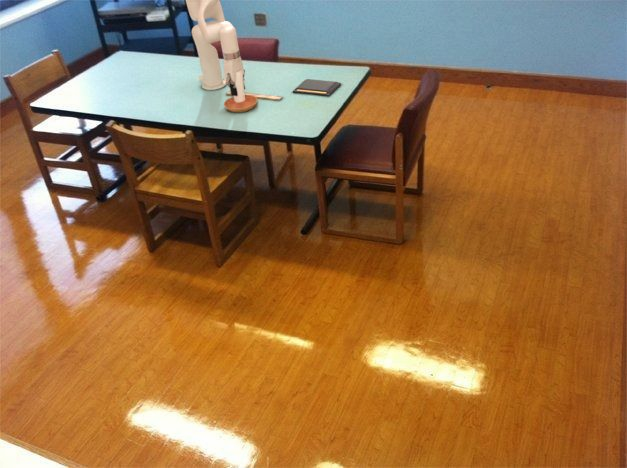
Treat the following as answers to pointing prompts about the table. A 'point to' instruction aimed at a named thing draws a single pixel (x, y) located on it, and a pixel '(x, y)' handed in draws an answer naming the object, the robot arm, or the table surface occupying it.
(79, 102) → the table surface
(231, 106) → the saucer
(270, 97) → the ruler
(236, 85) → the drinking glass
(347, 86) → the table surface
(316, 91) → the wallet
